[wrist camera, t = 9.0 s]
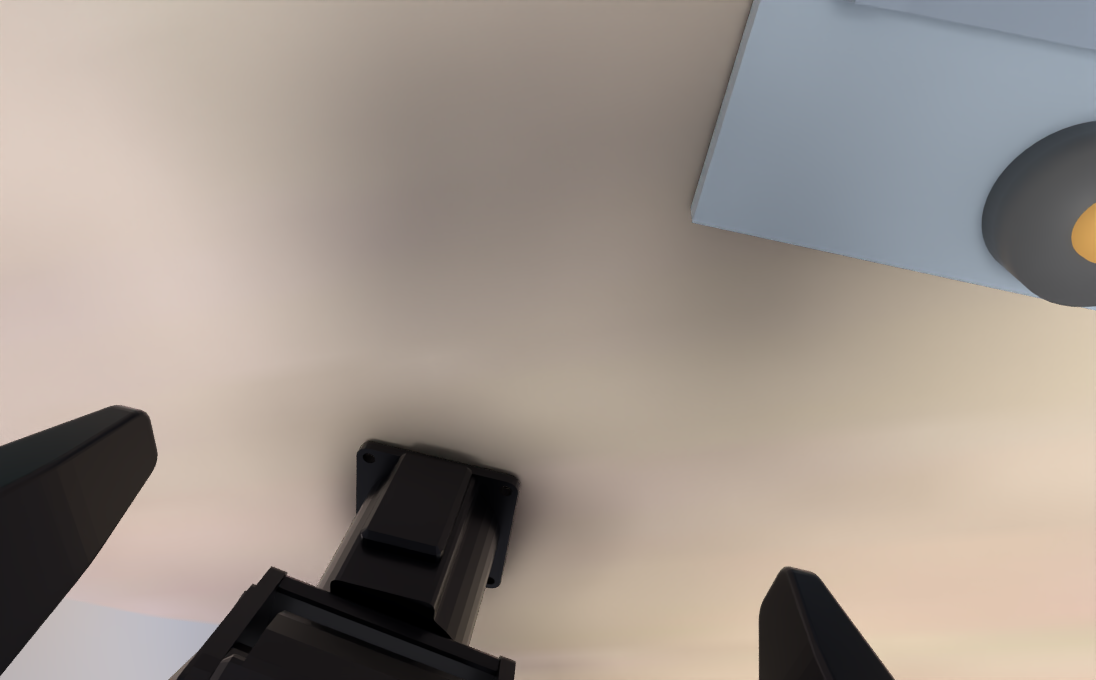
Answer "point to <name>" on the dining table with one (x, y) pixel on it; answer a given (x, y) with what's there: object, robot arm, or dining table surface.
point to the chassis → (917, 138)
